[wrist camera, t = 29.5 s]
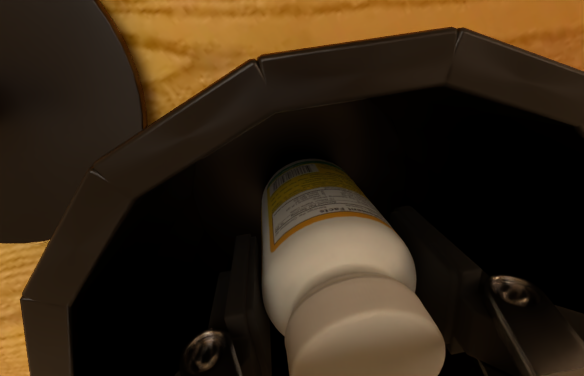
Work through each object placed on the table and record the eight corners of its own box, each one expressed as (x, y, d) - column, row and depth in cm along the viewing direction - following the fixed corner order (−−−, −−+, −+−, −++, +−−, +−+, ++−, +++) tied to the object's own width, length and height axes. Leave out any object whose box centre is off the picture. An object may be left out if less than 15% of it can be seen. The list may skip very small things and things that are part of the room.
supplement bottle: (281, 142, 14) (316, 259, 5) (370, 174, 15) (520, 313, 6) (247, 228, 16) (232, 424, 7) (330, 251, 17) (405, 442, 8)
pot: (420, 44, 15) (839, -32, 4) (410, 262, 20) (571, 464, 10) (145, 85, 14) (-212, 123, 3) (216, 298, 20) (165, 556, 9)
